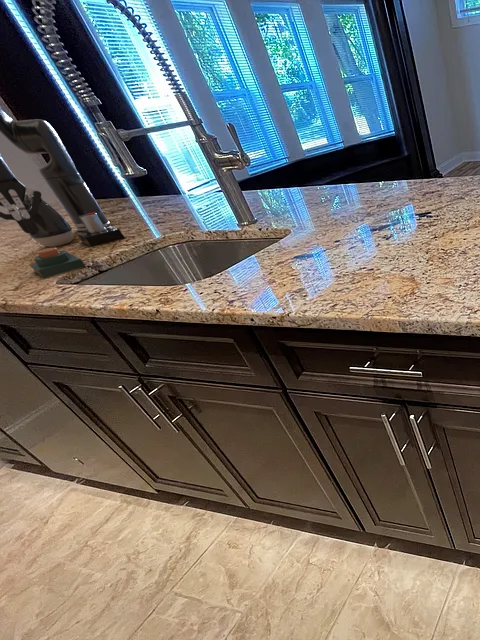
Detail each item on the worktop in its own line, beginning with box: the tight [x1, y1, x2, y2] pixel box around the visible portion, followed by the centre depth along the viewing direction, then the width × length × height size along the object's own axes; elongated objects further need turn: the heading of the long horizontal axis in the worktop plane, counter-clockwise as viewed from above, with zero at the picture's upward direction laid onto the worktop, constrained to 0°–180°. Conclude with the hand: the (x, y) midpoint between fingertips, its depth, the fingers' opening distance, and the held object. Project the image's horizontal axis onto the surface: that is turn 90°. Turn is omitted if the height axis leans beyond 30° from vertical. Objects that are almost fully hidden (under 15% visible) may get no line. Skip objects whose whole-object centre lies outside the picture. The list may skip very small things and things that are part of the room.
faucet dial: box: [79, 212, 106, 233], centre depth 134 cm, size 4×4×5 cm
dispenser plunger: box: [36, 247, 60, 258], centre depth 113 cm, size 4×4×2 cm
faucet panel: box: [76, 225, 125, 248], centre depth 136 cm, size 10×9×3 cm
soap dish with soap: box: [29, 250, 86, 279], centre depth 114 cm, size 10×9×4 cm
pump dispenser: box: [17, 193, 74, 248], centre depth 133 cm, size 10×10×15 cm
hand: (34, 234), depth 110 cm, fingers closed
